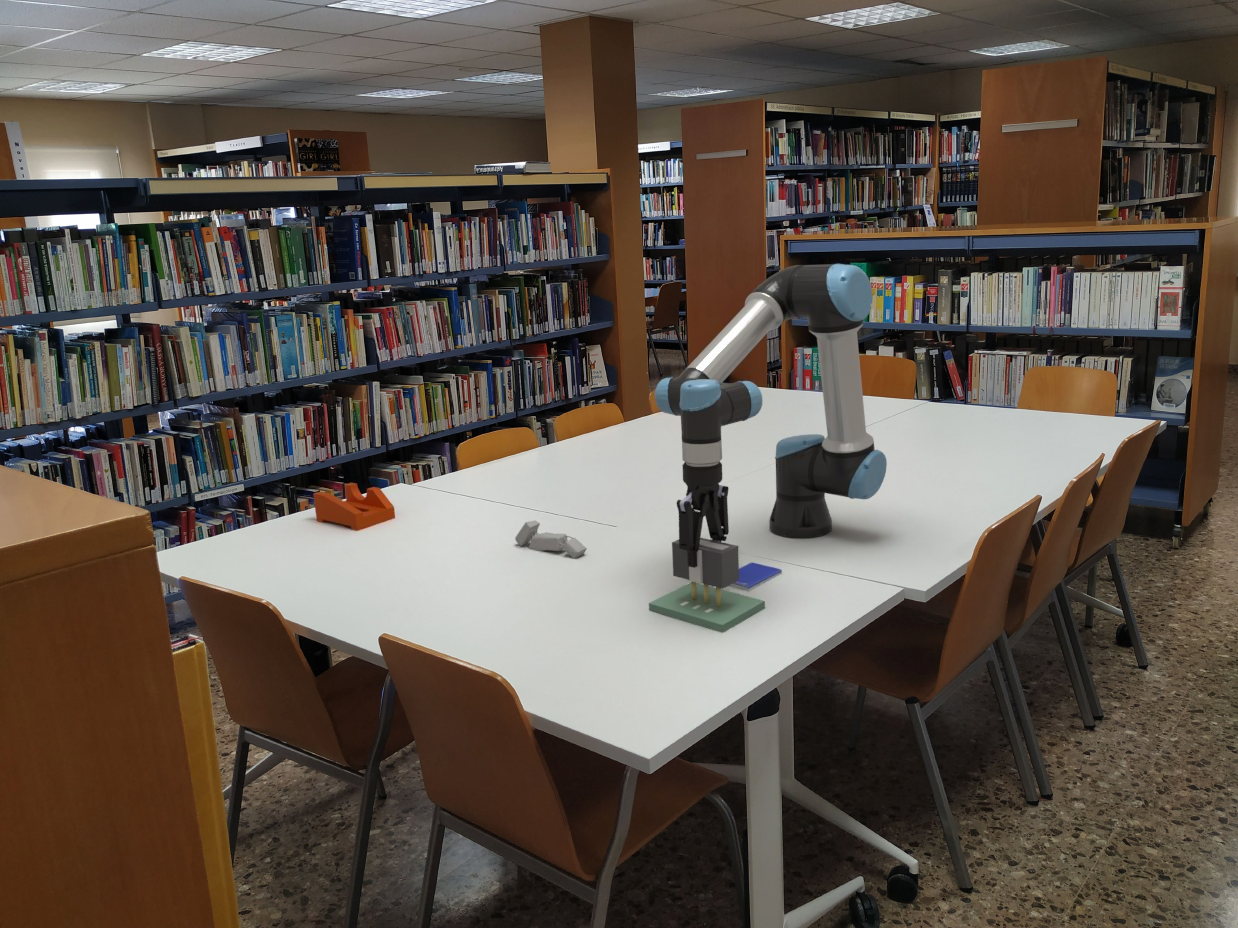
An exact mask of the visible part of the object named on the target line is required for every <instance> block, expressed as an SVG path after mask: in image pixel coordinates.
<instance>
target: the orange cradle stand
mask: <svg viewBox="0 0 1238 928" xmlns="http://www.w3.org/2000/svg"><path fill="white" fill-rule="evenodd" d="M344 491H345V500H342V499H341V498H338V497H337V496H335V495H334V494H332V493H328V492H323V491H318V492H314V493H313V502H314V509H315V518H316V522H318V523H326V522H332V523H335V524H340V525H344V526H348V527H350V530H351V531H354V532H355V531H357V532H359V531H361V530H365V529H367V528H371V527H374V526H376V525H380V524H382V523H386V522H388V521H392V520H393V519H396V512H395V506H394V505H393V504H392V502H391V501H390V500H389V498H388V497H387V496H386V495H385V493H384V492H383V491H382V489H381V488H380V487H375V486H372V487H369V488H366V495H365V496H364V495H363V494H362V493H361V492H360V489H359V488H358V483H355V482H349V483H344Z"/></svg>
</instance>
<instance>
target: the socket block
mask: <svg viewBox="0 0 1238 928" xmlns="http://www.w3.org/2000/svg"><path fill="white" fill-rule="evenodd" d="M693 545H694V544H693ZM671 550H672V552H671V553H672V554H671V555H672V571H673V572H672V573H673V575H672V576H673V577H675V578H681V579H683V580H684V579H685V580H689V566H688V556H687V550H682V549H680V548H679V539H677V540H674V541H672V542H671ZM699 550H702V572H703V583H701V584H706V585H709V586H710V587H714V588H716V587H718V588H721V589H722V590H724V588H726V587H730V586H729V585H731V584H733V583H735V582H737V581H738V580H739V568H740V565H739V564H740V563H739V561H740V560H739V559H740V557H739V545H737V544H736V545H735V544H730V543H727V542H724V541H722V542H718V541H714V540H712V539H711V540H709V539H708V538H706V537H705V538H704V537H700V544H699Z"/></svg>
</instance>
